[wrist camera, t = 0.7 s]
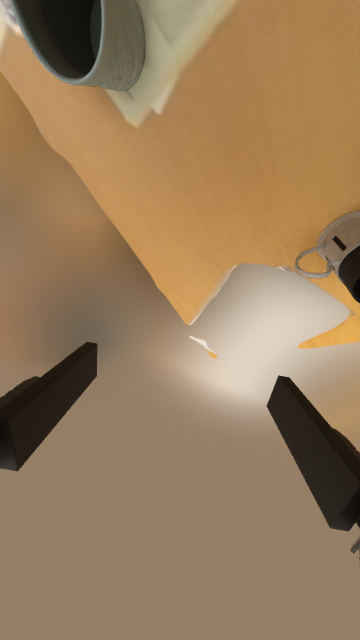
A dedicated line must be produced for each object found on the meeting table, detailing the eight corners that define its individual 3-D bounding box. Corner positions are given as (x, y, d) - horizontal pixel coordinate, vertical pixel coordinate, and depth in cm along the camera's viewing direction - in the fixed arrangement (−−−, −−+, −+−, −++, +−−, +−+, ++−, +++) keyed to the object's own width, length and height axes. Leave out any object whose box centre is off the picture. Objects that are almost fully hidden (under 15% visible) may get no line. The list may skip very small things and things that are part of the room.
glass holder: (363, 261, 34) (412, 313, 24) (280, 261, 38) (291, 305, 28) (393, 209, 29) (476, 246, 18) (292, 215, 32) (312, 249, 22)
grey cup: (89, -67, 20) (-22, -213, 12) (165, 13, 22) (116, -65, 14) (78, 68, 27) (3, 34, 19) (137, 119, 29) (93, 109, 21)
